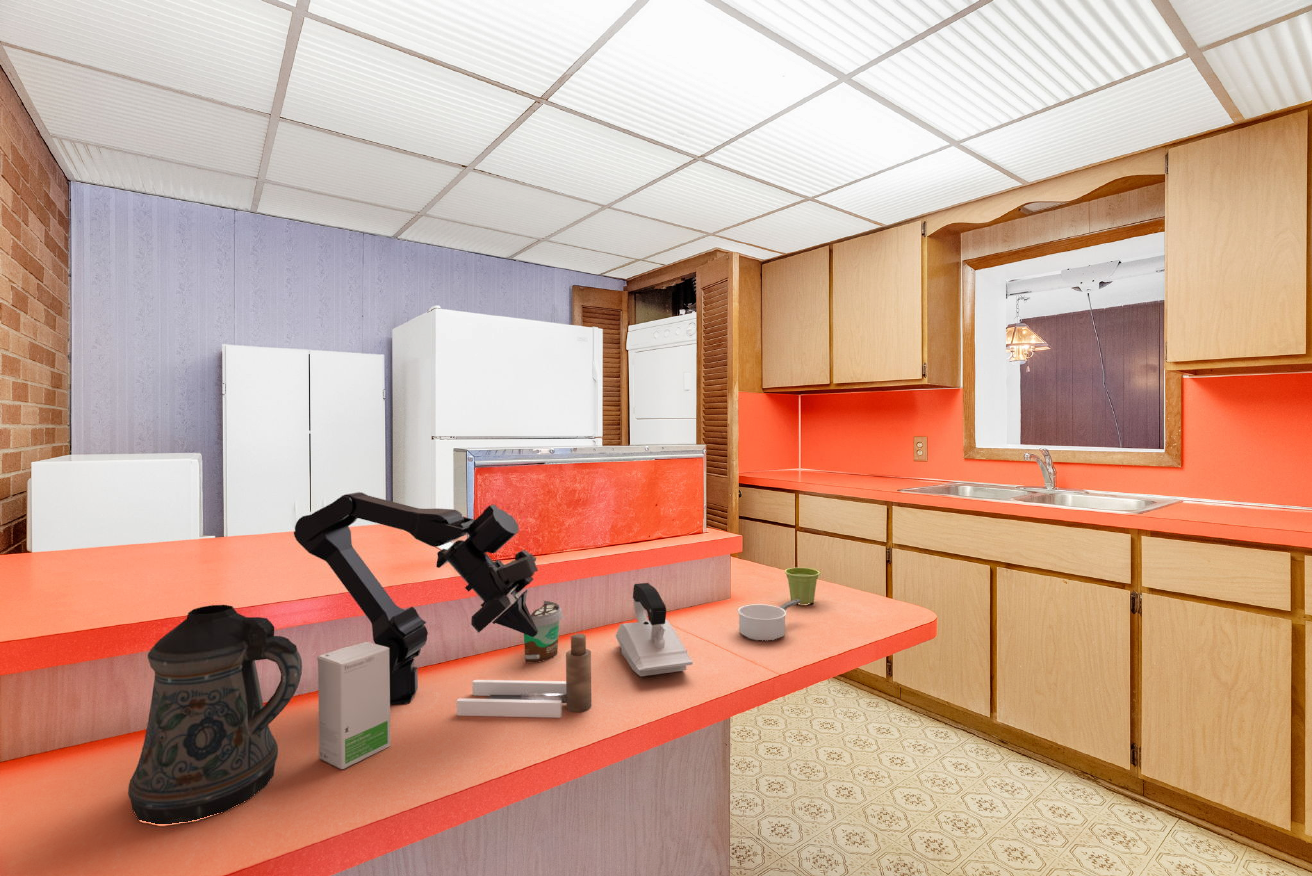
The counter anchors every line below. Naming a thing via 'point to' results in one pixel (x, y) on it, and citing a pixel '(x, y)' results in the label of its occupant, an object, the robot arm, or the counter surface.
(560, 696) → the rod
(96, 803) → the counter surface
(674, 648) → the iron
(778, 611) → the saucepan
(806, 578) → the plant pot
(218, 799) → the beer stein
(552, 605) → the food container
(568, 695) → the walnut skittle
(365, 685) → the skincare box
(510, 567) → the robot arm
